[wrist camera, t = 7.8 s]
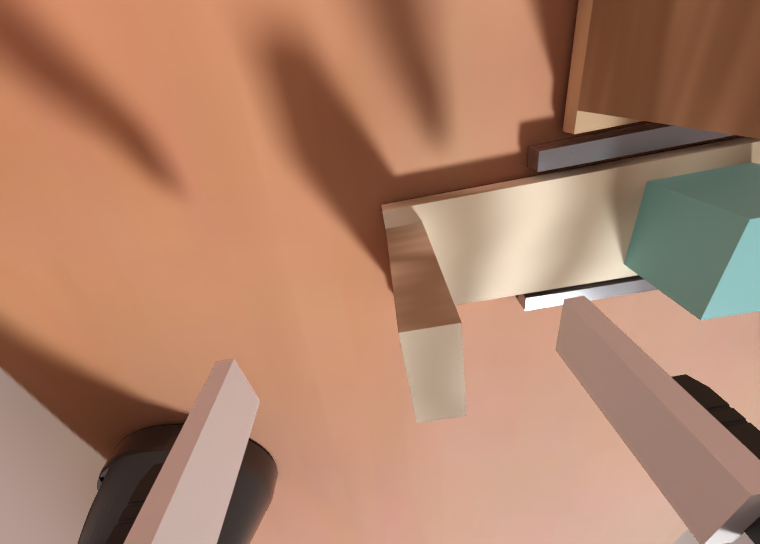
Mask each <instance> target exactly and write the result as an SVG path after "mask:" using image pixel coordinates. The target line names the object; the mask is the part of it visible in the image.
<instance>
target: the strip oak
mask: <svg viewBox="0 0 760 544" xmlns="http://www.w3.org/2000/svg"><path fill="white" fill-rule="evenodd" d="M640 121H648V122H654V123H661V124H667V125H674V126H680V127H686V128H693V129H699V130H706V131H712V132H719V133H725V134H732V135H738V136H744V137H751V138H757V139H760V0H579V2H578V10H577V18H576V26H575V34H574V43H573V51H572V59H571V67H570V75H569V83H568V91H567V99H566V107H565V115H564V124H563V131H564V132H567V133H571V134H578V133H583V132H589V131H594V130H599V129H604V128H609V127H614V126H619V125H625V124H630V123H635V122H640Z"/></svg>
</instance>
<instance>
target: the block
mask: <svg viewBox="0 0 760 544" xmlns="http://www.w3.org/2000/svg"><path fill="white" fill-rule="evenodd" d="M624 265H625V266H627V267H628V268H629V269H631V270H632V271H634V272H635V273H636V274H638V275H639V276H640V277H642V278H643V279H645V280H646V281H647V282H649V283H650V284H652V285H653V286H654V287H656V288H657V289H658V290H660V291H661V292H663V293H664V294H665V295H667V296H668V297H669V298H671V299H672V300H674V301H675V302H676V303H678V304H679V305H680V306H682V307H683V308H685V309H686V310H687V311H689V312H690V313H691V314H693V315H694V316H696V317H697V318H698V319H700V320H705V319H711V318H718V317H724V316H731V315H737V314H744V313H750V312H757V311H760V164H757V163H752V162H750V163H745V164H739V165H734V166H728V167H723V168H717V169H712V170H706V171H701V172H695V173H690V174H684V175H679V176H673V177H668V178H662V179H657V180H651V181H647V183H646V187H645V190H644V194H643V197H642V201H641V204H640V208H639V212H638V215H637V219H636V222H635V226H634V229H633V233H632V237H631V240H630V244H629V247H628V251H627V254H626V258H625V262H624Z"/></svg>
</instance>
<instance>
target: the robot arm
mask: <svg viewBox="0 0 760 544" xmlns="http://www.w3.org/2000/svg"><path fill="white" fill-rule="evenodd" d="M556 351H557V352H558V354H559V355H560V356H561V358H562V359H563V360H564V362H565V363H566V365H567V366H568V367H569V369H570V370H571V371H572V373H573V374H574V375H575V377H576V378H577V379H578V381H579V382H580V383H581V385H582V386H583V387H584V389H585V390H586V391H587V393H588V394H589V395H590V397H591V398H592V399H593V401H594V402H595V404H596V405H597V406H598V408H599V409H600V410H601V412H602V413H603V414H604V416H605V417H606V418H607V420H608V421H609V422H610V424H611V425H612V426H613V428H614V429H615V430H616V432H617V433H618V434H619V436H620V437H621V438H622V440H623V441H624V443H625V444H626V445H627V447H628V448H629V449H630V451H631V452H632V453H633V455H634V456H635V457H636V459H637V460H638V461H639V463H640V464H641V465H642V467H643V468H644V469H645V471H646V472H647V473H648V475H649V476H650V477H651V479H652V480H653V482H654V483H655V484H656V486H657V487H658V488H659V490H660V491H661V492H662V494H663V495H664V496H665V498H666V499H667V500H668V502H669V503H670V504H671V506H672V507H673V508H674V510H675V511H676V512H677V514H678V515H679V516H680V518H681V519H682V521H683V522H684V523H685V525H686V526H687V527H688V529H689V530H690V531H691V533H692V534H693V535H694V537H695V538H696V539H697V541H698V542H699V543H700V544H723V543H729V542H734V541H735V540H736V539H737V538H738V537H739V536H741V535H742V534H743V533H744V532H745V533H746V534H747V535H748V536H749V538H750V539H751V540H752V541H753V542H754V543H755V544H760V431H759V430H758V429H757V428H756V427H755V426H753V425H752V424H751V423H748V422H747V421H746V419H745V418H744V417H743V416H742V415H741V414H740V413H738V412H737V411H736V410H735V409H734V408H731V407H730V406H729V404H728V403H727V402H726V401H725V400H723V399H722V398H721V397H720V396H719V395H718V394H716V393H715V392H714V391H713V390H712V389H711V388H709V387H708V386H706V385H704V384H702V383H700V382H699V381H697V380H695V379H693V378H691V377H690V376H688V375H686V374H685V375H679V376H673V377H671V376H669V375H668V374H667V373H666V372H665V371H664V370H663V369H662V368H661V367H660V366H659V365H658V364H657V363H656V362H655V361H653V360H652V359H651V358H650V357H649V356H648V355H647V354H646V353H645V352H644V351H643V350H642V349H641V348H640V347H639V346H637V345H636V344H635V343H634V342H633V341H632V340H631V339H630V338H629V337H628V336H627V335H626V334H625V333H624V332H623V331H621V330H620V329H619V328H618V327H617V326H616V325H615V324H614V323H613V322H612V321H611V320H610V319H609V318H608V317H606V316H605V315H604V314H603V313H602V312H601V311H600V310H599V309H598V308H597V307H596V306H595V305H594V304H593V303H592V302H590V301H589V300H588V299H587V298H586V297H585V296H578V297H573V298H567V299H564V302H563V308H562V314H561V320H560V326H559V332H558V338H557V344H556ZM259 404H260V400H259V398H258V397H257V395H256V393H255V392H254V390H253V388H252V387H251V385H250V383H249V382H248V380H247V379H246V377H245V375H244V374H243V372H242V370H241V369H240V367H239V366H238V364H237V362H236V361H235V359H229V360H223V361H218V362H215V364H214V366H213V368H212V370H211V372H210V374H209V376H208V378H207V380H206V382H205V384H204V386H203V388H202V390H201V392H200V394H199V396H198V398H197V400H196V402H195V404H194V406H193V408H192V410H191V412H190V414H189V416H188V418H187V420H186V421H185V423H184V425H163V426H156V427H151V428H146V429H143V430H140V431H137V432H135V433H132V434H131V435H129V436H127V437H126V438H124V439H123V440H122V441H121V442H120V443H119V445H118V446H117V447H116V449H115V450H114V452H113V453H112V455H111V456H110V458H109V459H108V461H107V462H106V464H105V465H104V467H103V469H102V471H101V473H100V475H99V479H98V482H97V489H98V493H97V495H96V497H95V499H94V501H93V503H92V506H91V508H90V510H89V513H88V516H87V518H86V521H85V524H84V526H83V529H82V532H81V535H80V538H79V541H78V544H250V542H251V540H252V538H253V536H254V534H255V532H256V530H257V528H258V526H259V524H260V522H261V520H262V518H263V516H264V514H265V512H266V511H267V509H268V507H269V505H270V503H271V500H272V497H273V493H274V488H275V484H276V480H277V474H278V472H277V467H276V464H275V462H274V461H273V459H272V458H271V456H270V455H269V454H268V453H267V452H266V451H264V450H263V449H262V448H261V447H259V446H258V445H256V444H254V443H253V442H251V441H249V436H250V433H251V430H252V427H253V423H254V420H255V417H256V414H257V410H258V407H259Z"/></svg>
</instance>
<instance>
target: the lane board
mask: <svg viewBox="0 0 760 544" xmlns="http://www.w3.org/2000/svg"><path fill="white" fill-rule="evenodd" d="M727 136H732V134H725V133H719V132H712V131H706V130H699V129H693V128H686V127H680V126H674V125H667V124H661V123H654V122H653V123H648V124H642V125H637V126H632V127H627V128H622V129H617V130H611V131H606V132H601V133H596V134H591V135H586V136H580V137H575V138H570V139H565V140H560V141H555V142H549V143H544V144H539V145H534V146H529V147H528V157H527V167H529V168H531V169H533V170H534V171H536V172H541V171H546V170H552V169H557V168H562V167H568V166H573V165H578V164H583V163H589V162H594V161H599V160H605V159H610V158H615V157H621V156H626V155H631V154H637V153H642V152H647V151H653V150H658V149H663V148H669V147H674V146H679V145H685V144H690V143H695V142H701V141H706V140H711V139H717V138H722V137H727ZM651 290H658V289H657V288H656V287H654V286H653V285H652V284H650V283H649V282H647V281H646V280H645V279H643V278H642V277H640V276H639V275H636V276H630V277H624V278H618V279H612V280H606V281H599V282H593V283H587V284H581V285H575V286H569V287H563V288H557V289H551V290H544V291H538V292H532V293H526V294H520V295H518V299H517V300H518V301H519V303H520V304H521V306H522V307H523V308H524V310H525V311H526V310H533V309H539V308H545V307H551V306H558V305H563V302H564V299H567V298H573V297H578V296H585V297H586V298H587V299H588V300H595V299H601V298H608V297H614V296H620V295H626V294H633V293H639V292H645V291H651Z"/></svg>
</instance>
